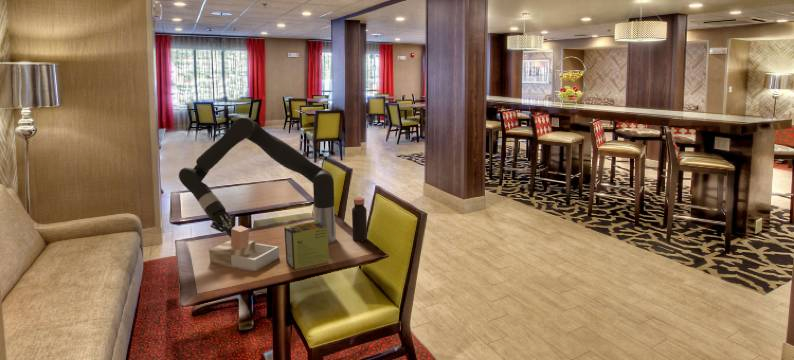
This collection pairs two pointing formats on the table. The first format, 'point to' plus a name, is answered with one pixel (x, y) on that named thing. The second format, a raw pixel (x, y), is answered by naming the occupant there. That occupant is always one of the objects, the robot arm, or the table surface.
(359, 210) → the bottle
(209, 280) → the table surface
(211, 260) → the beige box sleeve
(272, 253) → the white inner box tray
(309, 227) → the protein box
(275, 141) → the robot arm
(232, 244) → the block
